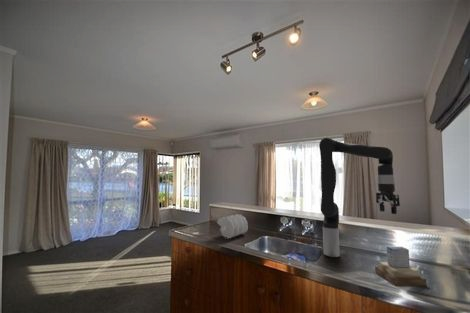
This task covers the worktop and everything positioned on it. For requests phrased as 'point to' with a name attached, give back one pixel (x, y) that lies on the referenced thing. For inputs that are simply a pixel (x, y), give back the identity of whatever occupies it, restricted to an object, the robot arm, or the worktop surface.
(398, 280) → the plinth
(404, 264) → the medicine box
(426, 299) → the worktop surface
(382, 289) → the worktop surface
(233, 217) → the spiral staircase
